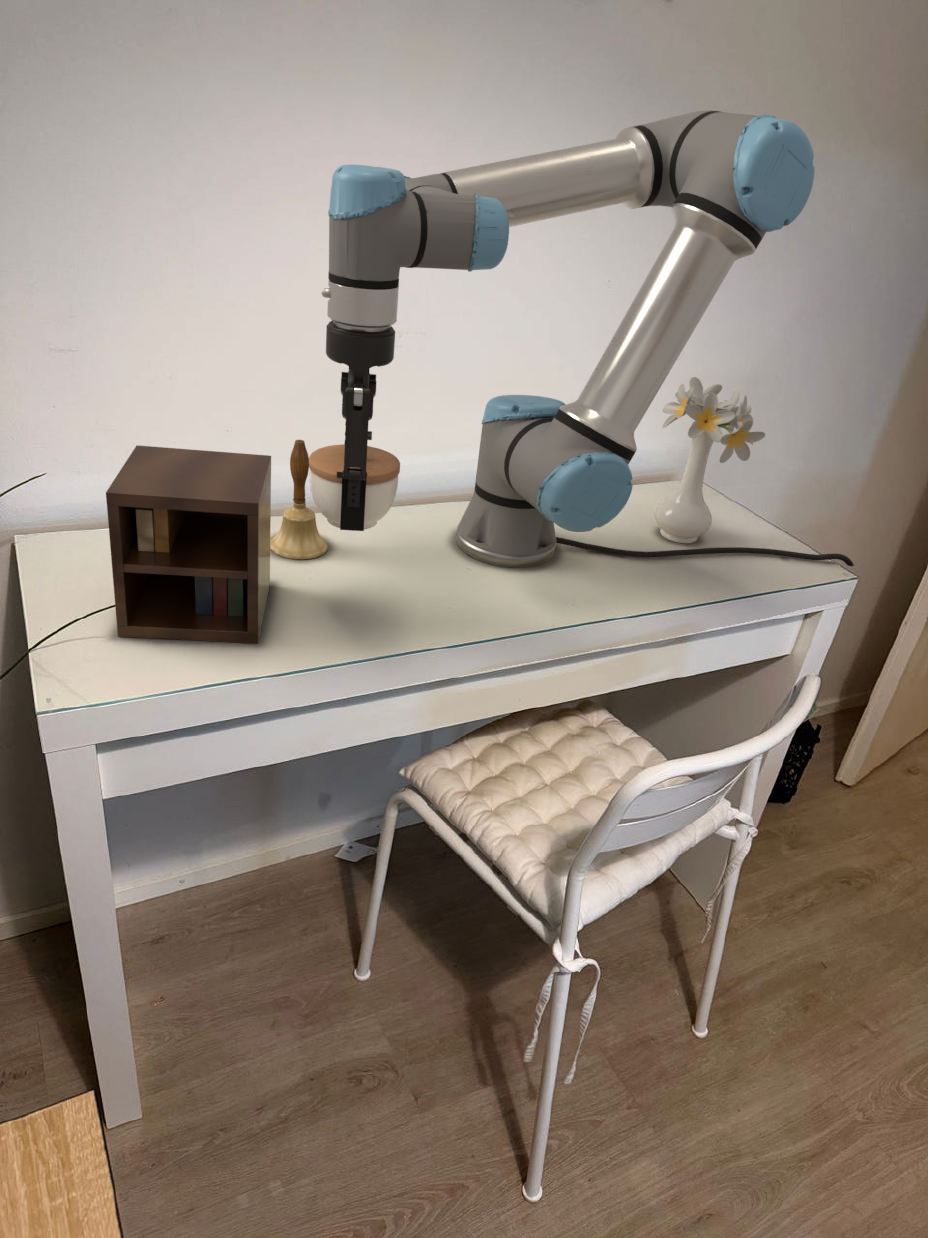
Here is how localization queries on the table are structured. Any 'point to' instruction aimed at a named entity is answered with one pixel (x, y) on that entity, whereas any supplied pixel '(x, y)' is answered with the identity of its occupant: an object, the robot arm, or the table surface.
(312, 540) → the hand bell
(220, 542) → the bookshelf
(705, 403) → the flower vase
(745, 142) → the robot arm
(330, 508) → the trinket box
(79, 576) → the table surface
